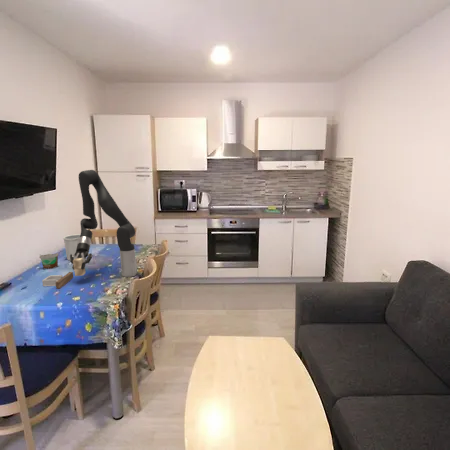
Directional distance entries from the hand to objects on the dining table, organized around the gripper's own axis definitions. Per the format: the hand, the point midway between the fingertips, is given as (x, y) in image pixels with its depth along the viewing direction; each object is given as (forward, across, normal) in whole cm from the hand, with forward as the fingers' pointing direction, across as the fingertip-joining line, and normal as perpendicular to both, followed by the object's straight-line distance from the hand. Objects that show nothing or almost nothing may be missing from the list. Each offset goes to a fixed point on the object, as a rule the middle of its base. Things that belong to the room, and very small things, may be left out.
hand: (78, 269), depth 195 cm
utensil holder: (-32, -27, +45) cm, 62 cm away
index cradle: (+5, -18, +8) cm, 20 cm away
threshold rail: (+5, -10, +8) cm, 14 cm away
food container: (-16, -36, +28) cm, 48 cm away
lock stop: (+2, 0, +4) cm, 5 cm away
